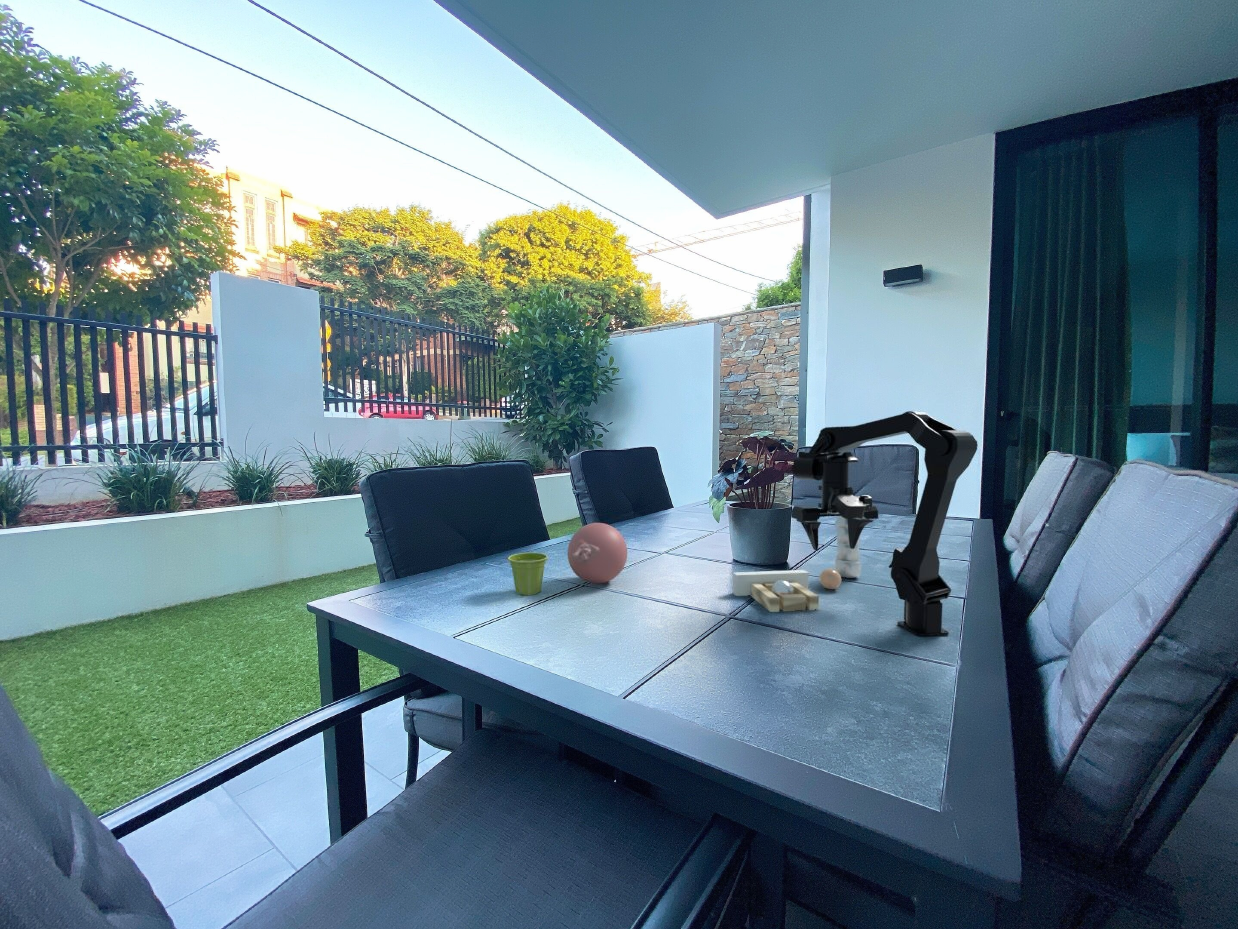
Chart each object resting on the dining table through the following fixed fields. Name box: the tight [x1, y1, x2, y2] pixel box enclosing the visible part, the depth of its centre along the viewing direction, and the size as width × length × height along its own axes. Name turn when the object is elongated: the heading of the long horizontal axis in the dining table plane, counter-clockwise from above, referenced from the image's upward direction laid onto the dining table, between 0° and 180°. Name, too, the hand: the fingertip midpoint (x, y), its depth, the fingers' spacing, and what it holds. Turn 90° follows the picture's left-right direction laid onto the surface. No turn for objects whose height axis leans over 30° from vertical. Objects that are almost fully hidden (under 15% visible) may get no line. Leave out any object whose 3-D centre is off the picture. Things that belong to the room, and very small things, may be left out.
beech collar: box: [750, 582, 820, 613], centre depth 117 cm, size 11×11×3 cm
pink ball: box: [567, 522, 628, 584], centre depth 130 cm, size 15×20×15 cm
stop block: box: [732, 569, 810, 597], centre depth 124 cm, size 2×18×5 cm, turn 97°
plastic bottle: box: [833, 516, 862, 579], centre depth 137 cm, size 6×7×20 cm
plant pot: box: [507, 552, 549, 596], centre depth 125 cm, size 9×9×9 cm
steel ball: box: [771, 580, 794, 603], centre depth 117 cm, size 5×5×5 cm
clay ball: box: [819, 568, 842, 590], centre depth 127 cm, size 5×5×5 cm
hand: (834, 549), depth 119 cm, fingers open, 9 cm apart
